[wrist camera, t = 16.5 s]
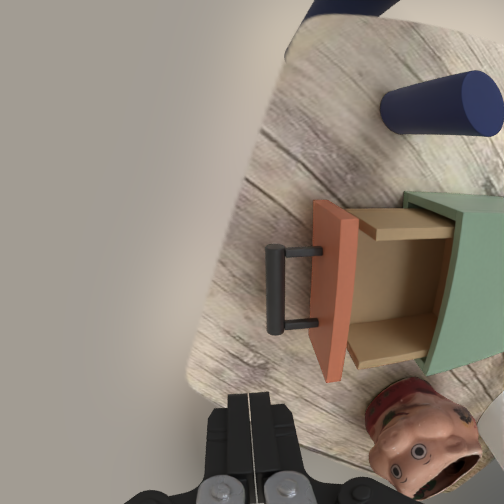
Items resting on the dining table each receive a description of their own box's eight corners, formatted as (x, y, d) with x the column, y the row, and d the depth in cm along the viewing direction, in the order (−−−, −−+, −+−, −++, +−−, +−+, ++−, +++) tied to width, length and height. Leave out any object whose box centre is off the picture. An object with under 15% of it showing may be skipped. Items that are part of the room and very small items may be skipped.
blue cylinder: (378, 87, 22) (458, 62, 12) (417, 93, 22) (502, 79, 12) (380, 132, 23) (463, 131, 13) (418, 136, 24) (506, 141, 13)
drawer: (264, 338, 28) (271, 389, 22) (260, 201, 24) (270, 221, 18) (429, 318, 29) (463, 354, 22) (448, 200, 25) (496, 218, 18)
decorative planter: (468, 384, 35) (515, 446, 21) (415, 439, 38) (448, 503, 25) (387, 348, 30) (448, 441, 17) (322, 420, 34) (349, 515, 20)
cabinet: (387, 325, 30) (425, 377, 21) (403, 191, 25) (463, 212, 17) (484, 307, 30) (526, 342, 22) (504, 196, 26) (559, 215, 18)
